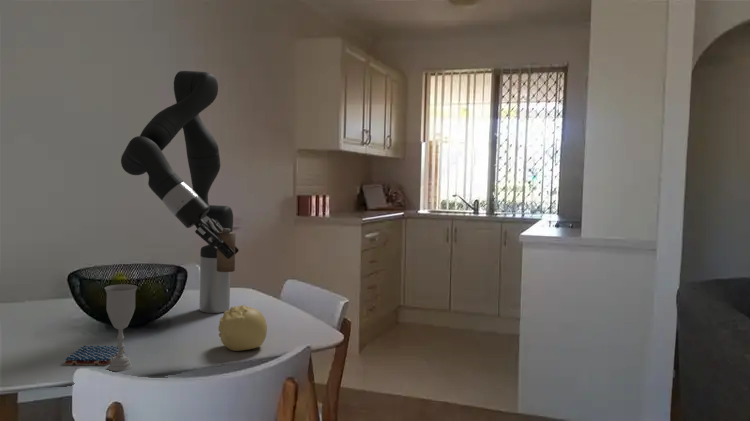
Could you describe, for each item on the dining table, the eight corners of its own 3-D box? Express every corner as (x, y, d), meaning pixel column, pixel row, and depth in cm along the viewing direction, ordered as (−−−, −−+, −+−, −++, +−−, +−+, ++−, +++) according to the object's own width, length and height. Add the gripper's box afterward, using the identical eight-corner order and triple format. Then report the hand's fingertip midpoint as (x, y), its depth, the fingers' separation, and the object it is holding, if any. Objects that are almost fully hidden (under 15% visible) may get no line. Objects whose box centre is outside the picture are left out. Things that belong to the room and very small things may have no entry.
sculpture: (217, 342, 155) (218, 301, 154) (264, 340, 158) (265, 300, 157) (218, 355, 144) (219, 311, 143) (268, 353, 147) (269, 310, 146)
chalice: (110, 361, 136) (111, 284, 135) (141, 362, 137) (142, 284, 136) (98, 372, 129) (99, 290, 128) (130, 372, 130) (131, 291, 128)
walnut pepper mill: (219, 268, 151) (219, 227, 150) (236, 269, 151) (237, 228, 151) (214, 271, 147) (215, 229, 146) (232, 272, 147) (233, 230, 146)
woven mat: (61, 367, 133) (61, 358, 133) (81, 353, 143) (81, 344, 143) (110, 367, 134) (110, 359, 134) (126, 353, 144) (126, 345, 144)
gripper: (188, 195, 140) (238, 248, 142) (204, 193, 155) (250, 241, 156) (165, 217, 141) (216, 269, 142) (183, 212, 155) (229, 260, 156)
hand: (233, 254), depth 149 cm, fingers closed on walnut pepper mill, 4 cm apart
